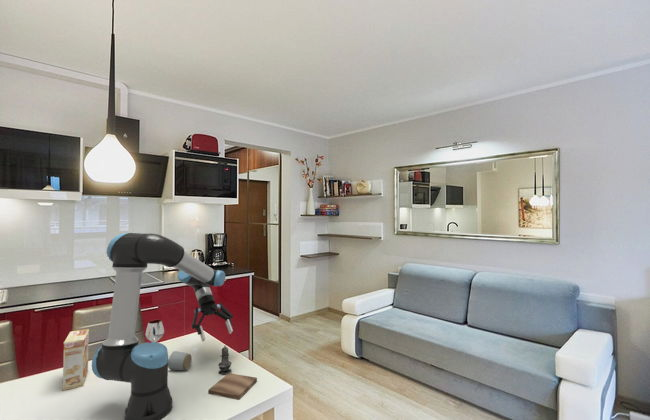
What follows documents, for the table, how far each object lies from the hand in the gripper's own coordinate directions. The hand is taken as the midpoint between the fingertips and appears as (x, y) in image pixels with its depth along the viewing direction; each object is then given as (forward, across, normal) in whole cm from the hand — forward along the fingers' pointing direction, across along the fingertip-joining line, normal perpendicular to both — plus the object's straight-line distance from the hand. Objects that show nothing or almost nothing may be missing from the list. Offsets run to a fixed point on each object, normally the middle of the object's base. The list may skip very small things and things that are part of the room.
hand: (218, 336), depth 149 cm
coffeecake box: (-10, +50, -30) cm, 60 cm away
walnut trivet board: (+26, +4, +6) cm, 27 cm away
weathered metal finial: (+16, 0, -4) cm, 16 cm away
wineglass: (-11, +20, -31) cm, 38 cm away
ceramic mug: (+3, +13, -17) cm, 22 cm away
